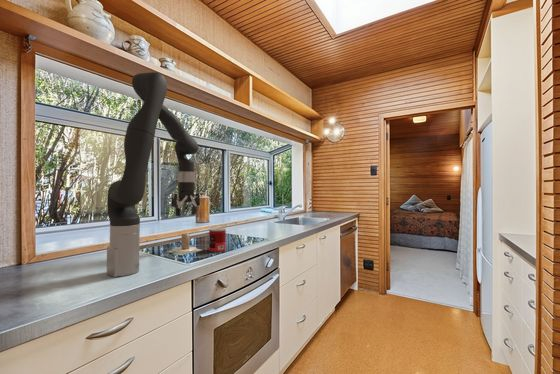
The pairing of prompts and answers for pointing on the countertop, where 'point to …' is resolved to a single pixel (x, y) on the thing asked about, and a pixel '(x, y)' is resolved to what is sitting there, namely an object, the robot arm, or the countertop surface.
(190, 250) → the lid
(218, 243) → the canned food
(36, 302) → the countertop surface
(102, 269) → the countertop surface
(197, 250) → the mat
